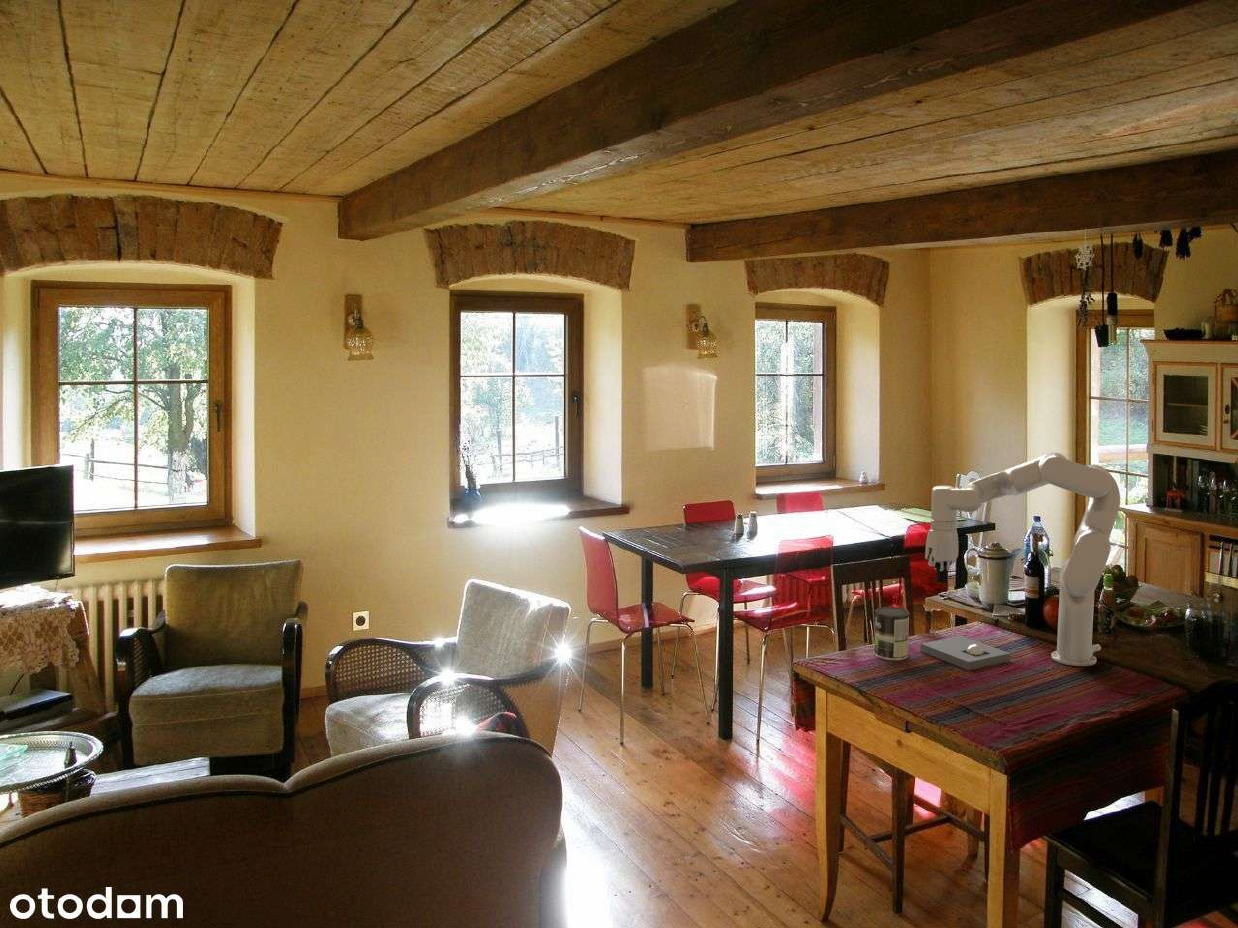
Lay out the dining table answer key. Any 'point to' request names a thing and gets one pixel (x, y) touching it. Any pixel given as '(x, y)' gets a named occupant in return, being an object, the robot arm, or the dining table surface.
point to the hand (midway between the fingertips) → (941, 582)
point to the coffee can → (891, 633)
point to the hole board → (964, 652)
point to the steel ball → (975, 650)
